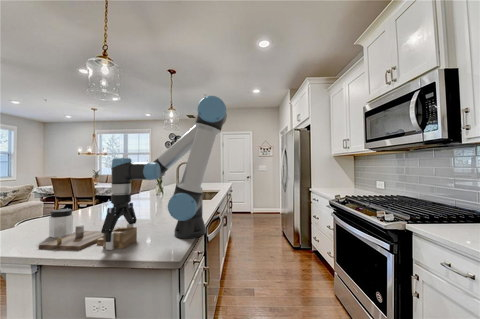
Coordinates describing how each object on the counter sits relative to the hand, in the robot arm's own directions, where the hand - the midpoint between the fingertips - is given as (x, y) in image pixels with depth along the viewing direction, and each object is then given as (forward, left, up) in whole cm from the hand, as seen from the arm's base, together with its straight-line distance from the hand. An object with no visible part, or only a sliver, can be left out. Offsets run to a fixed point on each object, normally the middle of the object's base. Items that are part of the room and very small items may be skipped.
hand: (120, 243), depth 95 cm
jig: (+21, -2, 0) cm, 21 cm away
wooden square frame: (+3, 0, 0) cm, 3 cm away
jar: (+37, -9, 0) cm, 38 cm away
